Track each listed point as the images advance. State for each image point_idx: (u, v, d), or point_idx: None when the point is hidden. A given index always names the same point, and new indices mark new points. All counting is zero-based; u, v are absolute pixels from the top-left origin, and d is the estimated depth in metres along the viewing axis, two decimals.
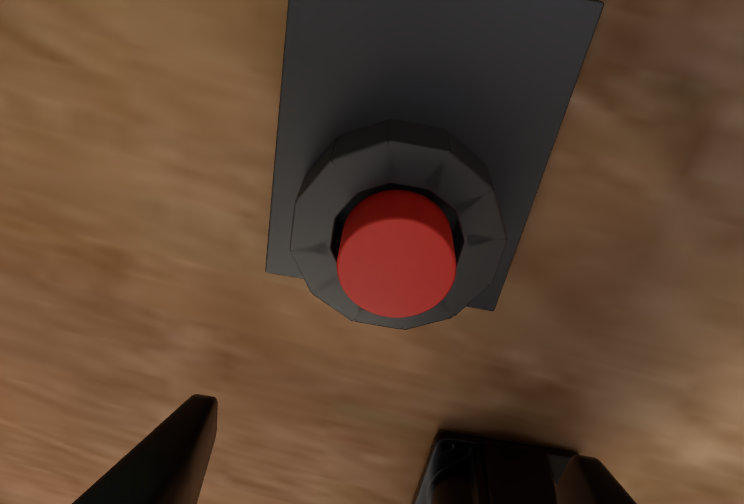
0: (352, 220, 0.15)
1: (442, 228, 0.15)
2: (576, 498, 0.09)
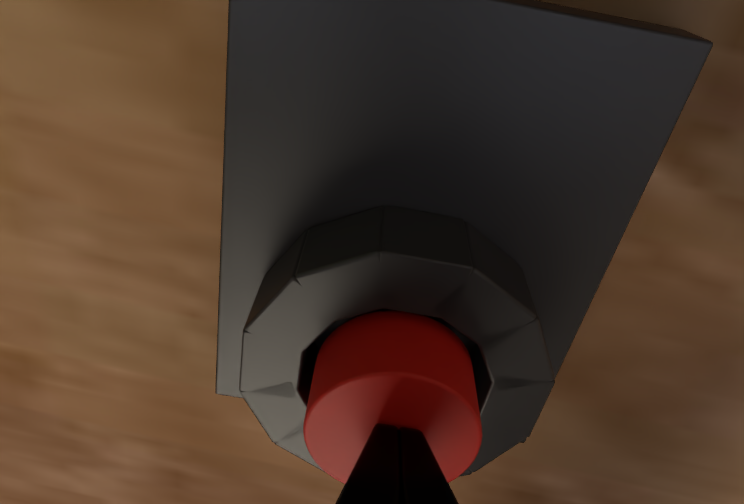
0: (327, 361, 0.10)
1: (461, 379, 0.10)
2: None
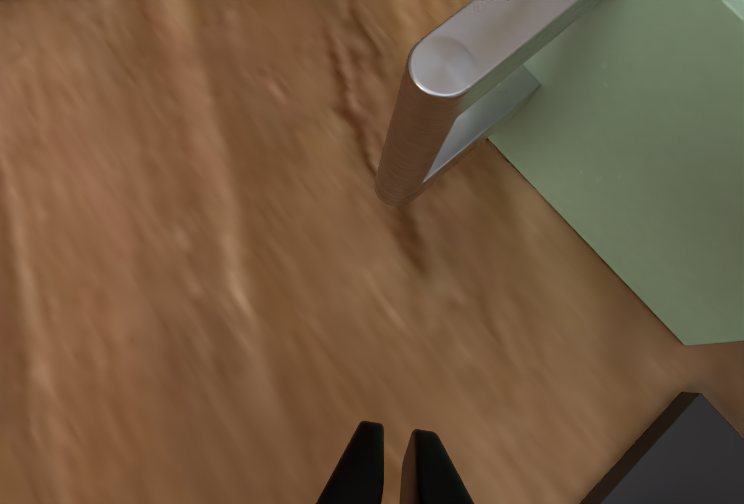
0: None
1: None
2: (409, 472, 0.09)
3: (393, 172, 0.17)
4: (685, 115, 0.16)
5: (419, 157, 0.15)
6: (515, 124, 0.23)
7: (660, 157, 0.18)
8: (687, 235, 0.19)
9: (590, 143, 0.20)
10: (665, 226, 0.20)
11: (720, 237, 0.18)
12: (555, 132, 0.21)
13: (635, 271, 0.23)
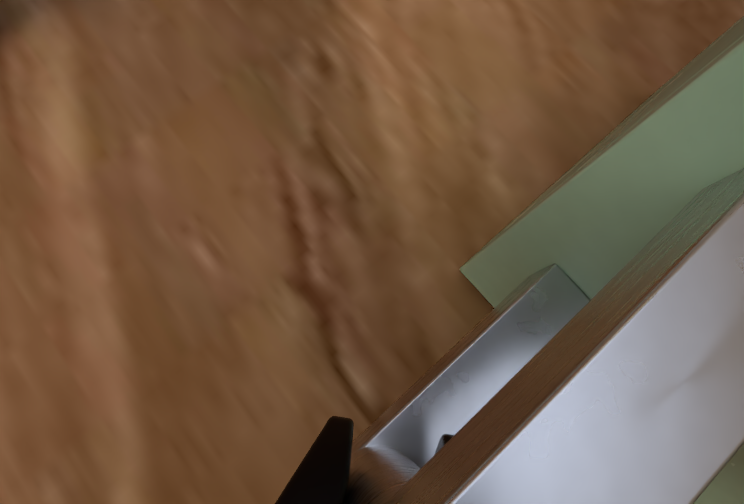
0: None
1: None
2: None
3: None
4: None
5: None
6: None
7: None
8: None
9: None
10: None
11: None
12: None
13: None
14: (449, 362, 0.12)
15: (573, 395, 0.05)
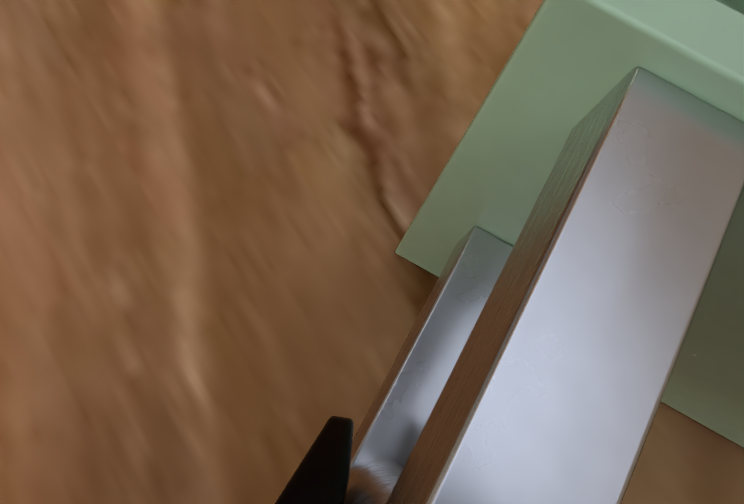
0: None
1: None
2: None
3: None
4: None
5: None
6: None
7: None
8: None
9: None
10: None
11: None
12: None
13: (722, 422, 0.16)
14: (405, 356, 0.12)
15: (498, 391, 0.05)
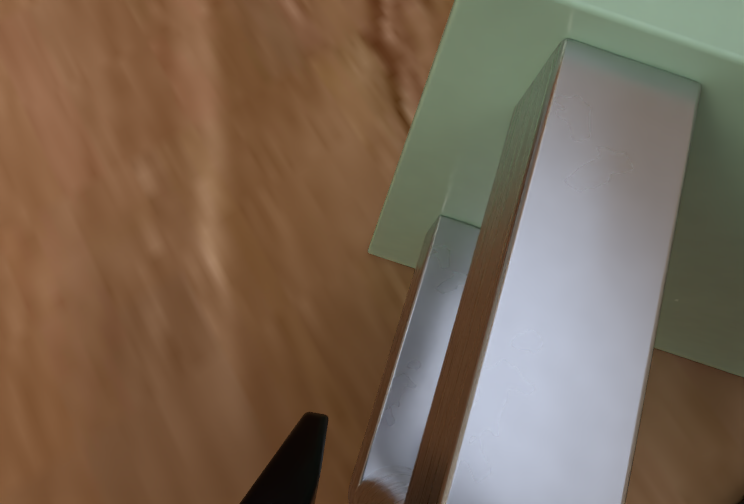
0: None
1: None
2: None
3: None
4: None
5: None
6: None
7: None
8: None
9: None
10: None
11: None
12: None
13: (715, 356, 0.16)
14: (395, 359, 0.11)
15: (486, 398, 0.05)
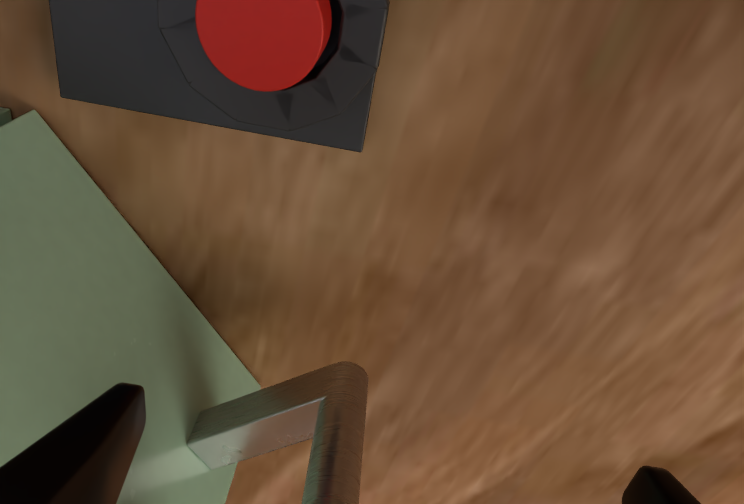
0: None
1: None
2: None
3: (357, 435, 0.17)
4: None
5: (337, 474, 0.16)
6: (209, 382, 0.22)
7: (76, 397, 0.17)
8: (44, 294, 0.17)
9: None
10: (66, 299, 0.18)
11: (9, 305, 0.16)
12: (174, 388, 0.21)
13: (93, 217, 0.20)
14: (286, 445, 0.20)
15: None
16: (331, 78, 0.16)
